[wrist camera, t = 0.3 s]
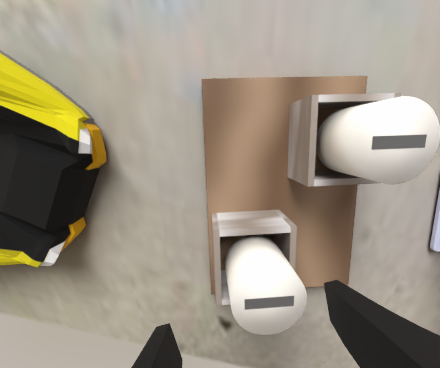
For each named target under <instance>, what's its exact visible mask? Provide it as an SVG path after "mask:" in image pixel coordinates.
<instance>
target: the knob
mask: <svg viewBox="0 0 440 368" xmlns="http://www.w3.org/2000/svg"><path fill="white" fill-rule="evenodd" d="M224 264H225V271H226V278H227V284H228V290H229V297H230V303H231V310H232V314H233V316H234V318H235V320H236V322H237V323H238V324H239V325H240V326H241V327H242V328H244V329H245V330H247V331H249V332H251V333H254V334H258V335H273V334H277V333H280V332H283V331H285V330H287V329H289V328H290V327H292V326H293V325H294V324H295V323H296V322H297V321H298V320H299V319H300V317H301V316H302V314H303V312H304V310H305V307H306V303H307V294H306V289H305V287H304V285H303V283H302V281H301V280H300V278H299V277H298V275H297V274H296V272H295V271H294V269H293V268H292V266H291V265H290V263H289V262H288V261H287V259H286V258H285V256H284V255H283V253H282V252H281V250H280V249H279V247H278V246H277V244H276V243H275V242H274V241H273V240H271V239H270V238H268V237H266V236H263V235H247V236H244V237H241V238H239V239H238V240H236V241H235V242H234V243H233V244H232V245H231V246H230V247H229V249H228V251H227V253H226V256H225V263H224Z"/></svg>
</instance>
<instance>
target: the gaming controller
mask: <svg viewBox="0 0 440 368" xmlns="http://www.w3.org/2000/svg"><path fill="white" fill-rule="evenodd" d="M105 162H106V151H105V147H104V142H103V138H102V134H101V130H100V129H99V128H98V127H97V126H96V124H94V119H93V118H92V117H91V115H90V114H89V113H88V112H87V111H86V110H85V109H84V108H82V107H81V106H80V105H79V104H77V103H76V102H75V101H74V100H72V99H71V98H70V97H69V96H68V95H66V94H65V93H64V92H63V91H61V90H60V89H59V88H58V87H56V86H55V85H53V84H52V83H50V82H49V81H47V80H45V79H44V78H42V77H41V76H39V75H38V74H36V73H35V72H33V71H32V70H30V69H29V68H27V67H25V66H24V65H22V64H21V63H19V62H18V61H16V60H15V59H13V58H12V57H10V56H9V55H7V54H5V53H4V52H2V51H0V265H13V264H27V265H31V266H34V267H39V266H52V265H53V264H54V263H55V261H56V259H57V258H58V256H59V254H60V252H61V251H62V250H64V249H65V248H66V247H67V246H68V245H69V244H70V243H71V242H72V241H73V240H74V239H75V238H76V237H77V236H78V235H79V234H80V233H81V232H82V230H83V229H84V227H85V226H86V224H85V220H84V215H85V212H86V208H87V205H88V202H89V199H90V196H91V193H92V189H93V186H94V183H95V180H96V177H97V174H98V170H99V167H100V166H101V165H103V164H104V163H105Z"/></svg>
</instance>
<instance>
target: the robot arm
mask: <svg viewBox="0 0 440 368" xmlns="http://www.w3.org/2000/svg"><path fill="white" fill-rule="evenodd" d="M430 248H431V249H432V250H434V251H436V252H440V189H439V195H438V201H437V207H436V213H435V219H434V225H433V231H432V237H431V243H430ZM324 287H325V293H326V299H327V304H328V310H329V316H330V321H331V323H332V324H333V326H334V328H335V330H336V332H337V333H338V335H339V337H340V338H341V340H342V342H343V344H344V345H345V347H346V348H347V350H348V351H349V353H350V354H351V355H352V357H353V358H354V360H355V361H356V363H357V364H358V365H359V367H360V368H440V336H439V335H437V334H435V333H433V332H431V331H429V330H426V329H424V328H422V327H420V326H418V325H416V324H414V323H412V322H410V321H408V320H406V319H405V318H403V317H401V316H399V315H397V314H395V313H393V312H391V311H389V310H388V309H386V308H384V307H382V306H381V305H379V304H377V303H375V302H374V301H372V300H370V299H368V298H367V297H365V296H363V295H362V294H360V293H358V292H357V291H355V290H353V289H352V288H350V287H348V286H347V285H345V284H343V283H342V282H340V281H338V280H333V281H329V282H326V283H324ZM132 368H182V357H181V354H180V351H179V349H178V346H177V343H176V340H175V337H174V335H173V332H172V329H171V326H170V323H169V324H165V325H161V326H158V327H156V328H155V330H154V332H153V333H152V335H151V337H150V338H149V340H148V341H147V343H146V345H145V346H144V348H143V350H142V351H141V353H140V355H139V356H138V358H137V360H136V361H135V363H134V365H133V366H132Z"/></svg>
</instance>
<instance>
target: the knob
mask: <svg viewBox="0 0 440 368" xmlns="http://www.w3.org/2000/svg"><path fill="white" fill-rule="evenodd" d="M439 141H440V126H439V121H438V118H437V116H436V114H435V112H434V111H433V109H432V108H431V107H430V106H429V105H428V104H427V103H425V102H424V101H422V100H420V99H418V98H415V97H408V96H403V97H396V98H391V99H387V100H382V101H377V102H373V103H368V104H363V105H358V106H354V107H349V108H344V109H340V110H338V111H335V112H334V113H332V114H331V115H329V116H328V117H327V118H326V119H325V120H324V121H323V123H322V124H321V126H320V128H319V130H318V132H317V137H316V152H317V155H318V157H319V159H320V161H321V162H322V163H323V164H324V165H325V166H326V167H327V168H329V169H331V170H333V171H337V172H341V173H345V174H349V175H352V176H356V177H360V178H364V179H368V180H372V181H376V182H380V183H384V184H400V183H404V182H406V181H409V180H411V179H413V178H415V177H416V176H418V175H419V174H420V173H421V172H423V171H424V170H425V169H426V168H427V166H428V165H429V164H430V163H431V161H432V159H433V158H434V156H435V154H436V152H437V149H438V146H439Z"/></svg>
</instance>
